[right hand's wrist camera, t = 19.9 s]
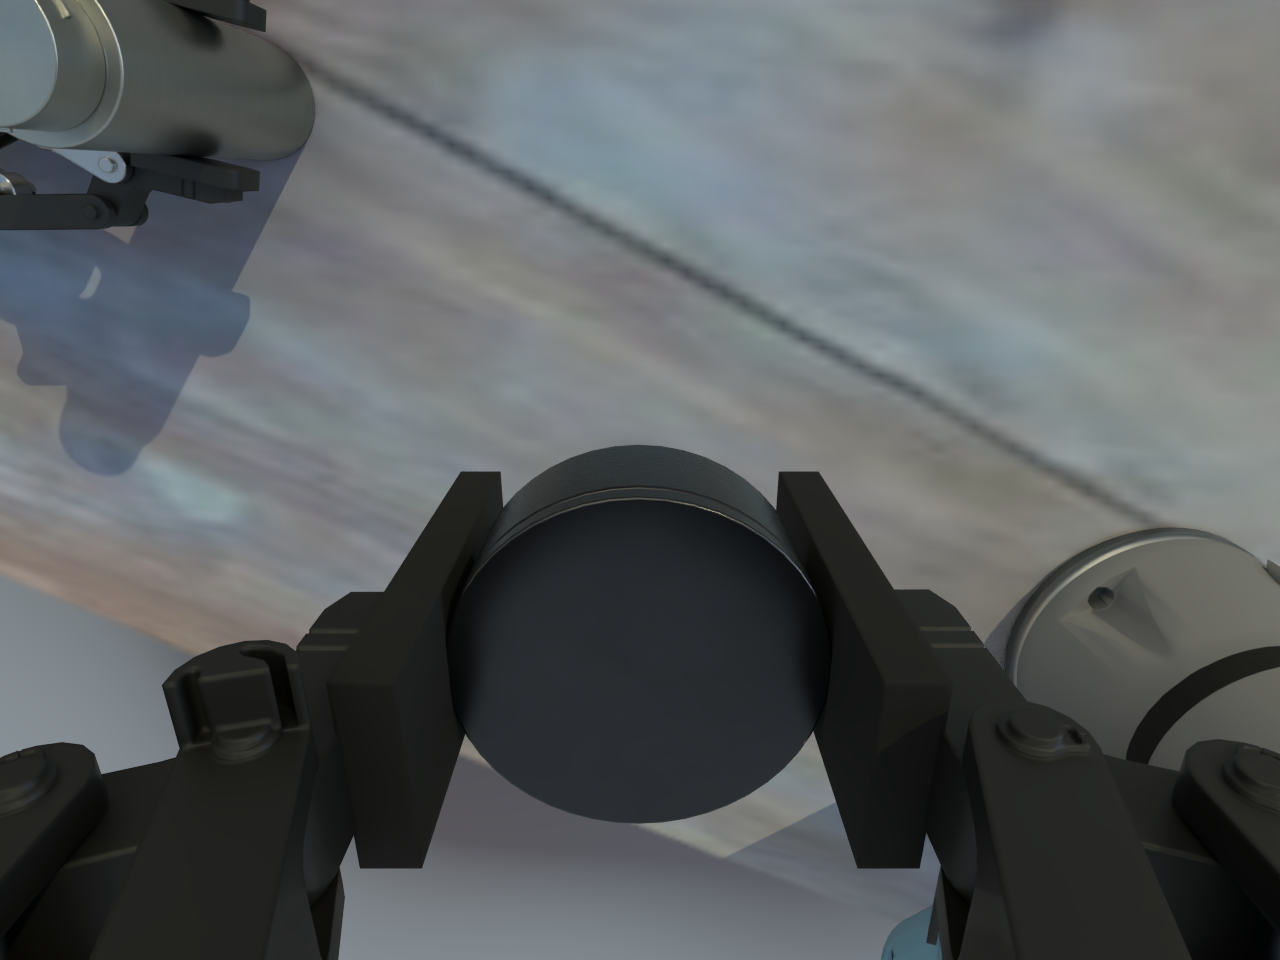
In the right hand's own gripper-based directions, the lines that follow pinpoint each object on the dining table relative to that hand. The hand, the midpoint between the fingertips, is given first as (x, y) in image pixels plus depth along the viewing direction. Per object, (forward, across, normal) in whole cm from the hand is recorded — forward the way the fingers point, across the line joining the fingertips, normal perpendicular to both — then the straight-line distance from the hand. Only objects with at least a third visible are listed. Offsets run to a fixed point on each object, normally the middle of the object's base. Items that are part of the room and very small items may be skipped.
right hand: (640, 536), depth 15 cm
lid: (-4, 0, 0) cm, 4 cm away
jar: (+23, +17, -10) cm, 30 cm away
